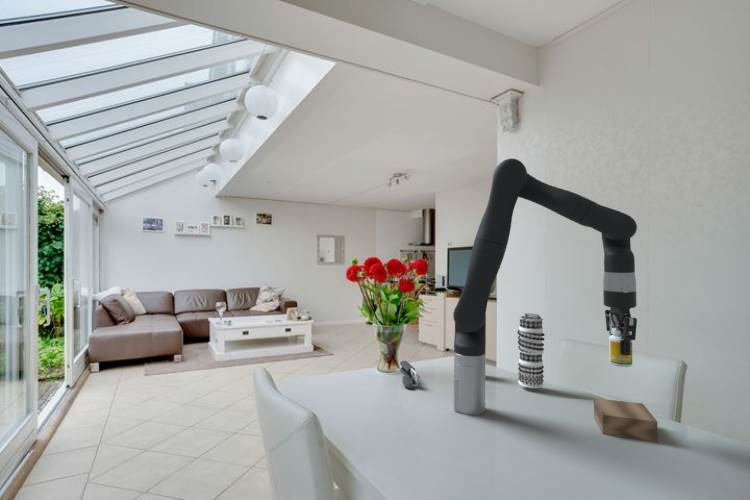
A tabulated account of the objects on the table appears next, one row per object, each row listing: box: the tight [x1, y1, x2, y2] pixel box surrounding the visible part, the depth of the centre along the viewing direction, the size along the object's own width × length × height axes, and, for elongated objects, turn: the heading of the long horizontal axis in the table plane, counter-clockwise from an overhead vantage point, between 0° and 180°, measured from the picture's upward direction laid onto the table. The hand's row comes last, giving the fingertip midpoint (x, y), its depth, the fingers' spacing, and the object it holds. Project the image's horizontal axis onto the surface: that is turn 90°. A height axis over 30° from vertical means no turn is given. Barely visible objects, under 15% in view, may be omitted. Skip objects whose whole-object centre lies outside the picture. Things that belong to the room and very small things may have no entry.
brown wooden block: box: [593, 397, 658, 442], centre depth 106 cm, size 12×12×6 cm
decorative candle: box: [516, 312, 546, 389], centre depth 142 cm, size 9×9×25 cm
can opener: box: [399, 360, 421, 389], centre depth 147 cm, size 19×6×5 cm, turn 8°
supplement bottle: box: [608, 328, 633, 368], centre depth 106 cm, size 5×5×10 cm
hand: (620, 351), depth 106 cm, fingers closed on supplement bottle, 5 cm apart
